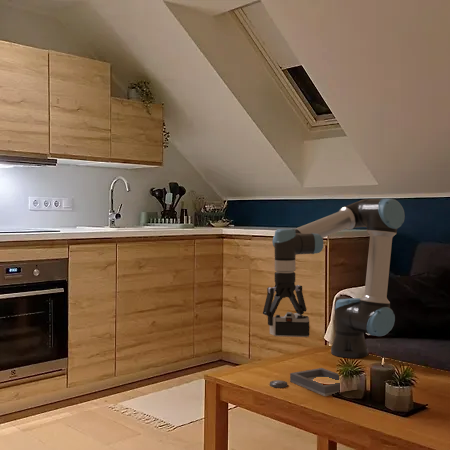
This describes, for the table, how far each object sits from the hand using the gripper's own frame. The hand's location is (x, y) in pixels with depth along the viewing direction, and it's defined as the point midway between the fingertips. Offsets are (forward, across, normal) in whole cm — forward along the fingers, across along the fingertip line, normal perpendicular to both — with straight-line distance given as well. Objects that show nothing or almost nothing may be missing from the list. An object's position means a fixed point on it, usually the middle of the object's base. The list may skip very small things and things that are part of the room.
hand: (285, 332), depth 221 cm
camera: (+1, -2, +2) cm, 3 cm away
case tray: (+16, -5, +16) cm, 23 cm away
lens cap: (+16, +8, +9) cm, 20 cm away
